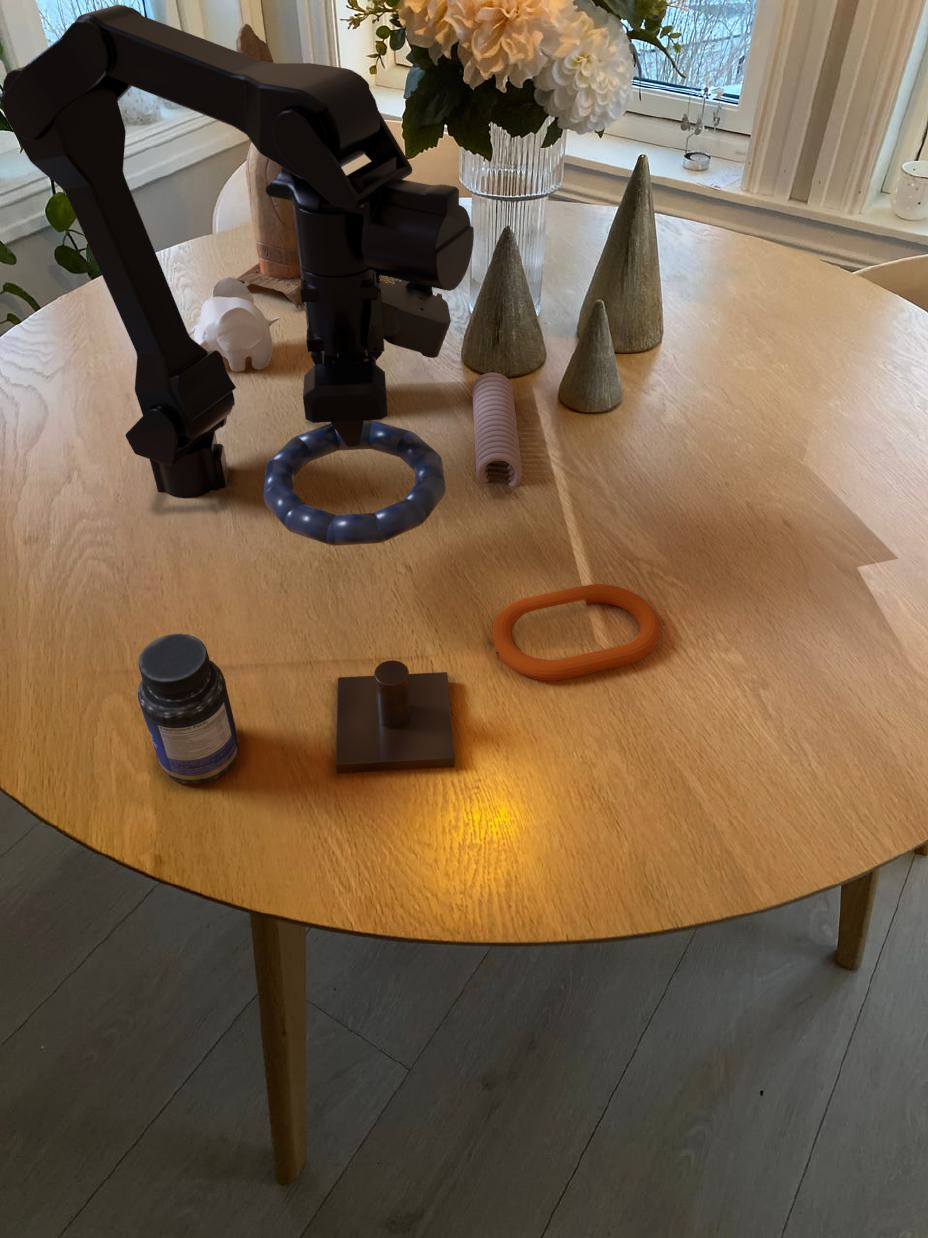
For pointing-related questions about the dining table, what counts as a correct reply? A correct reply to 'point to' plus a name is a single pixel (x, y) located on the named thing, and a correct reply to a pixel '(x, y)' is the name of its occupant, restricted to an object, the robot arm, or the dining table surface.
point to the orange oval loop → (584, 661)
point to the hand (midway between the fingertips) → (353, 437)
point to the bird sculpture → (269, 207)
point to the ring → (365, 524)
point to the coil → (495, 426)
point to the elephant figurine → (234, 326)
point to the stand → (393, 721)
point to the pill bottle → (187, 709)
